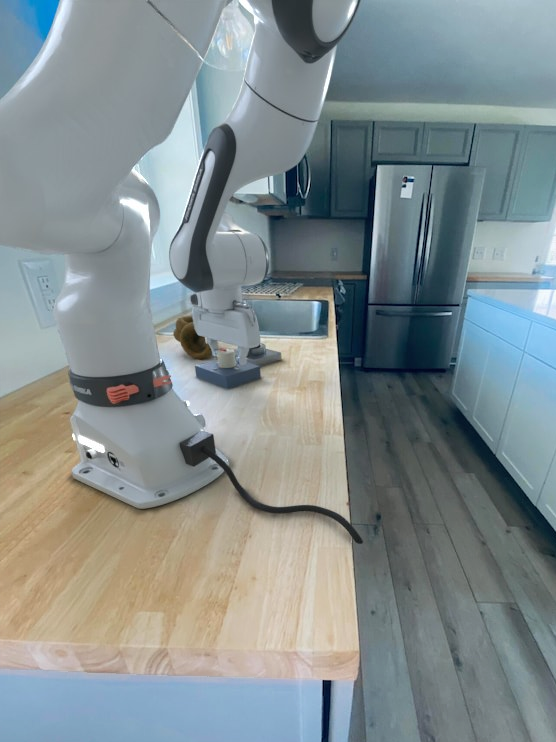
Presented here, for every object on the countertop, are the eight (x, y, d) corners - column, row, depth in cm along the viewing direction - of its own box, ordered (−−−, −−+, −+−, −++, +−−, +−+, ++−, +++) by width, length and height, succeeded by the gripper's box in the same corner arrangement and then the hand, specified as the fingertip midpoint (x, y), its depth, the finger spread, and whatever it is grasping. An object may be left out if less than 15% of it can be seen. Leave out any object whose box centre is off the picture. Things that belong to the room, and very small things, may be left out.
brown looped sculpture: (246, 318, 117) (219, 319, 96) (236, 356, 121) (208, 365, 101) (193, 297, 117) (154, 293, 96) (184, 336, 121) (145, 340, 101)
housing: (281, 360, 102) (281, 346, 100) (254, 368, 95) (253, 353, 93) (253, 352, 109) (252, 338, 107) (225, 359, 102) (224, 345, 100)
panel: (260, 378, 89) (260, 365, 87) (227, 389, 82) (225, 375, 80) (229, 368, 95) (228, 356, 94) (196, 377, 88) (194, 364, 87)
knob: (239, 365, 87) (237, 349, 86) (225, 369, 85) (223, 353, 83) (228, 362, 90) (227, 346, 88) (215, 365, 87) (213, 350, 85)
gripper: (264, 302, 76) (268, 366, 83) (207, 293, 88) (215, 350, 94) (240, 305, 72) (247, 372, 78) (184, 295, 83) (193, 355, 90)
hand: (229, 360), depth 86 cm, fingers open, 8 cm apart
